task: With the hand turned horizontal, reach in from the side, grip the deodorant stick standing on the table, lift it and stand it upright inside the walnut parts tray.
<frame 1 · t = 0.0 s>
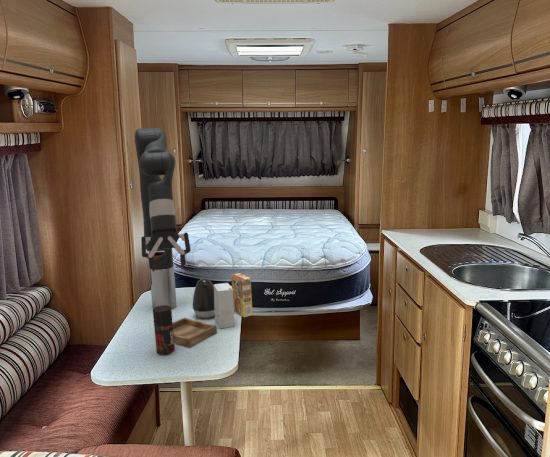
hand: (168, 269, 151), 31 cm above the table, tool tilted 20°, fingers open, 8 cm apart
candy box: (242, 313, 201), on the table
tray: (186, 335, 181), on the table
skincare box: (225, 324, 190), on the table
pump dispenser: (206, 316, 200), on the table
deodorant: (165, 351, 169), on the table
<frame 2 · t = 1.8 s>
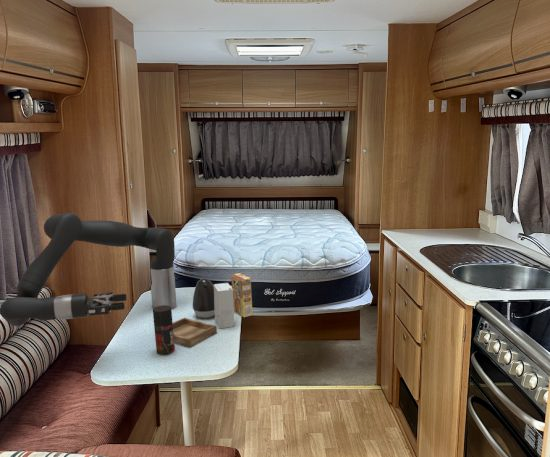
hand: (125, 301, 163), 19 cm above the table, tool horizontal, fingers open, 8 cm apart
nothing on the table moved.
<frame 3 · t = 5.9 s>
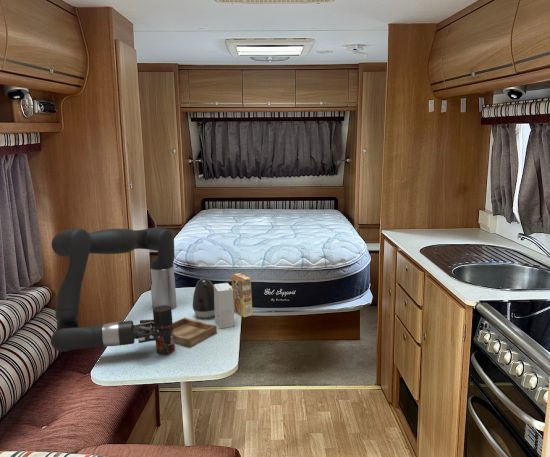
hand: (171, 327, 168), 8 cm above the table, tool horizontal, fingers closed on deodorant, 6 cm apart
deodorant: (165, 351, 169), on the table, touching gripper
everything else where it was.
when the fingers open (10 cm above the table, at t = 10.1 s): deodorant drops 1 cm, resting on tray.
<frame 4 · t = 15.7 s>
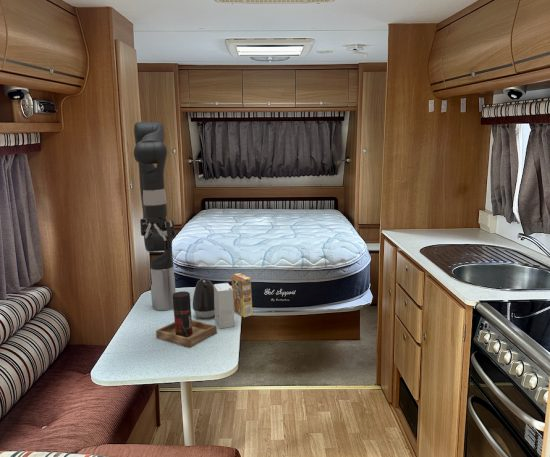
hand: (159, 249, 174), 32 cm above the table, tool pointing down, fingers open, 8 cm apart
deodorant: (184, 334, 180), point 1 cm above the table, touching tray
everything else where it was.
at the end: deodorant inside the target area on the tray (1.1 cm from its centre), point 0.6 cm above the tray's base; deodorant tilted 0°; the gripper is holding nothing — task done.
